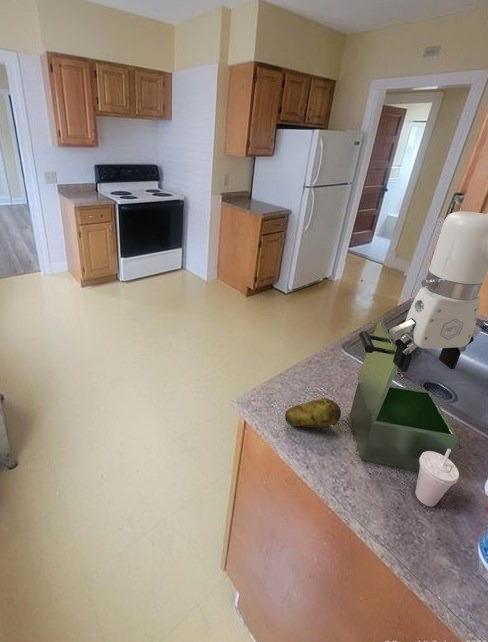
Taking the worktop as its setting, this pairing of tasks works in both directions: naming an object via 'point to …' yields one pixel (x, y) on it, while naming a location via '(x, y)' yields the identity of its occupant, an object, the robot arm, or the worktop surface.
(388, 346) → the lid
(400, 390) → the caddy
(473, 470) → the worktop surface
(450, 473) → the smoothie
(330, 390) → the worktop surface
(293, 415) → the potato
